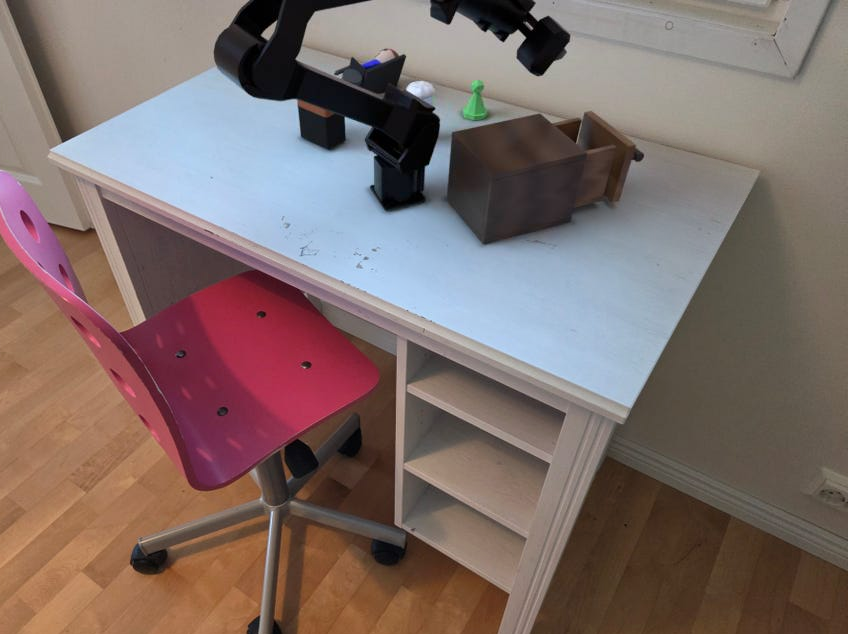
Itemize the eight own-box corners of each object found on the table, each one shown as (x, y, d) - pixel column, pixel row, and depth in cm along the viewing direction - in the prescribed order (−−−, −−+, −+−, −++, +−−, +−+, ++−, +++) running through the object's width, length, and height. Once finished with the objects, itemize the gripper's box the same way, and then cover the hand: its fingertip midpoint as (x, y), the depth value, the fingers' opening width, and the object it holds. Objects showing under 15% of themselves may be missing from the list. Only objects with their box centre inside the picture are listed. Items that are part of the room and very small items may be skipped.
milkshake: (435, 146, 106) (439, 86, 98) (402, 144, 106) (403, 83, 99) (438, 133, 109) (442, 73, 101) (407, 130, 109) (408, 70, 102)
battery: (318, 128, 111) (313, 68, 103) (347, 141, 107) (344, 80, 100) (299, 138, 108) (293, 78, 101) (328, 151, 105) (324, 90, 98)
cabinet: (527, 180, 98) (540, 113, 91) (570, 222, 91) (587, 152, 83) (446, 199, 95) (451, 131, 87) (483, 244, 88) (492, 175, 80)
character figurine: (327, 104, 117) (388, 79, 124) (353, 115, 113) (415, 88, 120) (322, 58, 112) (386, 35, 118) (349, 68, 108) (414, 43, 114)
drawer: (601, 160, 100) (616, 104, 94) (643, 195, 93) (663, 138, 87) (505, 183, 96) (514, 127, 90) (542, 221, 90) (554, 163, 83)
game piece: (473, 122, 111) (476, 88, 106) (457, 113, 113) (460, 78, 109) (492, 115, 112) (496, 81, 108) (476, 106, 115) (480, 72, 110)
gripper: (568, -26, 74) (628, 21, 85) (483, -103, 82) (547, -52, 93) (504, 60, 81) (567, 93, 92) (431, -19, 89) (497, 20, 100)
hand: (545, 36), depth 94 cm, fingers open, 9 cm apart
